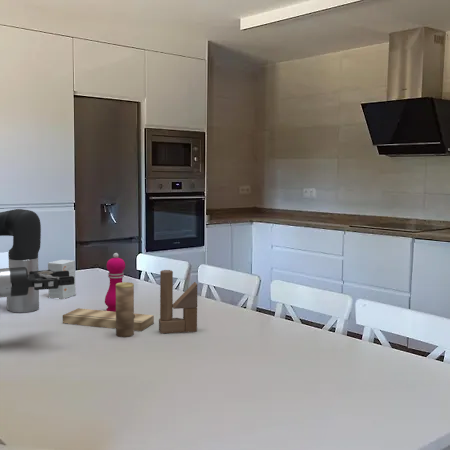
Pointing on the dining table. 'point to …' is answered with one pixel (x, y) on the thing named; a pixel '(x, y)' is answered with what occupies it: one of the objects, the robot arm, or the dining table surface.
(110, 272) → the pepper mill
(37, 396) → the dining table surface
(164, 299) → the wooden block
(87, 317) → the board
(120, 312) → the wooden cylinder yellow top
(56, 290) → the small box
